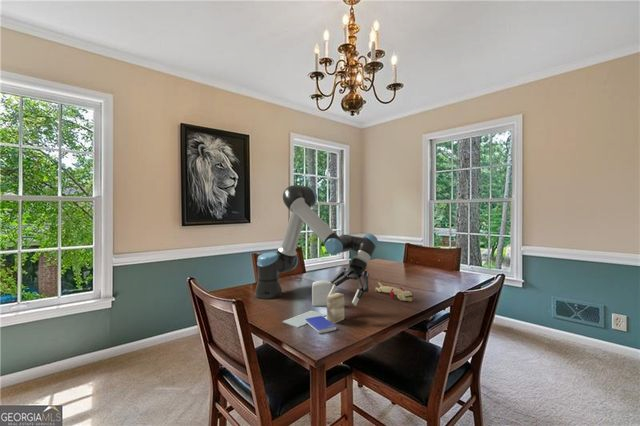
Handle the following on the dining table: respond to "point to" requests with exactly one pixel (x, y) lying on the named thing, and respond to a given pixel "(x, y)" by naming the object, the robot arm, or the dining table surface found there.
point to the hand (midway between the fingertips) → (341, 301)
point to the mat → (302, 318)
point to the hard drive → (320, 324)
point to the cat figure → (395, 292)
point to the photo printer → (320, 292)
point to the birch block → (335, 307)
